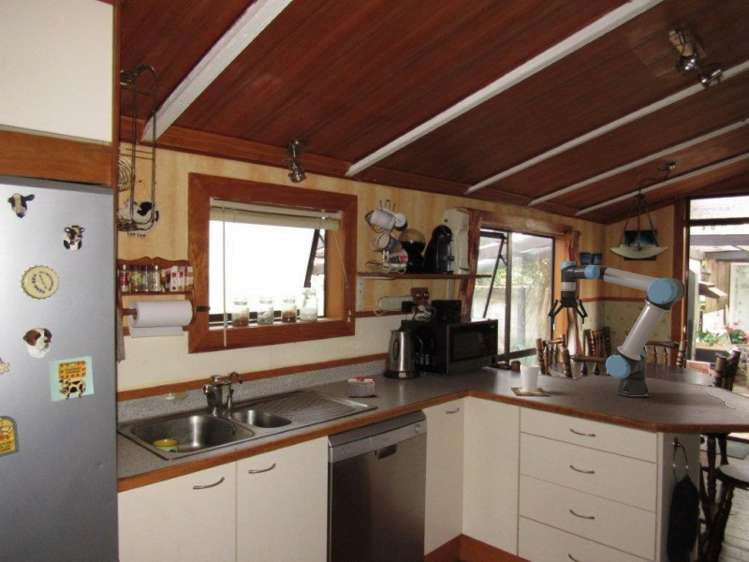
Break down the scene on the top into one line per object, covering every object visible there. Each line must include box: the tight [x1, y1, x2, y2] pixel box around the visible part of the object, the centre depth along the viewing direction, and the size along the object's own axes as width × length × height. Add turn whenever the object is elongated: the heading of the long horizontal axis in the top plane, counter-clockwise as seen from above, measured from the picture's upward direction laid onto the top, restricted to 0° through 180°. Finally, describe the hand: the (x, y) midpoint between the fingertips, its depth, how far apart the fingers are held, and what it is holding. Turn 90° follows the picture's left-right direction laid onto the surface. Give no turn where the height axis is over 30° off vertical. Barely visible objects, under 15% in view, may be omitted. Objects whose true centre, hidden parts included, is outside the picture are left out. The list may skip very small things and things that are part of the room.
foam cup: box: [519, 363, 540, 392], centre depth 279 cm, size 10×9×13 cm
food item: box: [346, 375, 375, 398], centre depth 271 cm, size 14×8×10 cm, turn 98°
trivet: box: [510, 386, 550, 398], centre depth 279 cm, size 16×16×1 cm
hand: (567, 330), depth 287 cm, fingers open, 13 cm apart
